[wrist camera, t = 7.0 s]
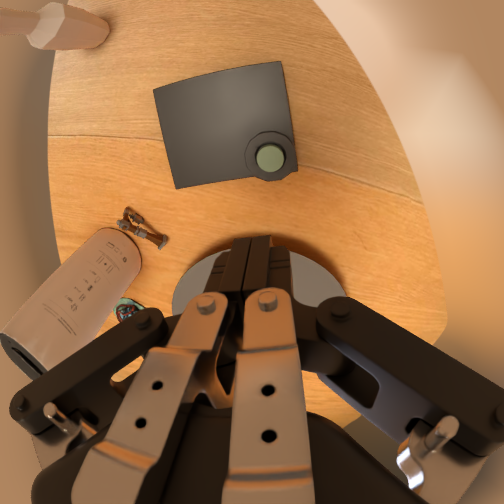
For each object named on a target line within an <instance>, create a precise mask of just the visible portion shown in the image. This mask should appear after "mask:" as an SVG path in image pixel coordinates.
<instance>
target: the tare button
mask: <svg viewBox="0 0 504 504" xmlns="http://www.w3.org/2000/svg"><path fill="white" fill-rule="evenodd" d="M283 162H284V156H283V152H282V150H281V149H280V148H279V147H278V146H276V145H274V144H267V145H264V146H263V147H262V148H261V149H260V150H259V152H258V154H257V163H258V165H259V167H260V168H261V169H262V170H264V171H267V172H274V171H277V170H278V169H280V168H281V166H282V165H283Z"/></svg>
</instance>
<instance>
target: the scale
mask: <svg viewBox="0 0 504 504" xmlns="http://www.w3.org/2000/svg"><path fill="white" fill-rule="evenodd" d="M153 93H154V98H155V103H156V108H157V112H158V117H159V121H160V126H161V130H162V135H163V139H164V143H165V148H166V152H167V156H168V160H169V164H170V168H171V172H172V176H173V180H174V184H175V188H176V189H181V188H186V187H192V186H197V185H203V184H209V183H215V182H221V181H227V180H234V179H240V178H247V177H254V176H255V177H257V178H260V179H262V180H265V181H277V180H282V179H283V178H284V177H286V176H287V175H289V174H290V173H291V172H296V171H298V167H297V158H296V151H295V144H294V137H293V130H292V123H291V117H290V110H289V104H288V98H287V92H286V86H285V81H284V75H283V70H282V64H281V61H276V62H268V63H261V64H254V65H248V66H242V67H237V68H232V69H227V70H222V71H217V72H213V73H209V74H205V75H200V76H197V77H193V78H189V79H185V80H182V81H178V82H175V83H172V84H169V85H165V86H162V87H159V88H156V89H153ZM267 144H274V145H276V146H278V147H279V148H280V149H281V150H282V152H283V156H284V162H283V165H282V166H281V168H280V169H278V170H277V171H274V172H267V171H264V170H262V169H261V168H260V167H259V165H258V163H257V154H258V152H259V150H260V149H261V148H262V147H263V146H264V145H267Z"/></svg>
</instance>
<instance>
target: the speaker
mask: <svg viewBox="0 0 504 504" xmlns="http://www.w3.org/2000/svg"><path fill="white" fill-rule="evenodd" d="M140 268H141V257H140V253H139V250H138V248H137V246H136V245H135V244H134V242H133V241H132V240H131V239H130V238H129V237H128V236H127V235H126V234H124V233H122V232H121V231H119V230H116V229H110V228H104V229H101V230H98V231H97V232H96V233H95V234H94V235H93V236H92V237H90V238H89V239H88V240H87V241H86V242H85V243H84V244H83V245H82V246H81V247H80V248H79V249H78V250H76V251H75V252H74V253H73V254H72V255H71V256H70V257H69V258H68V259H67V260H66V261H65V262H64V263H63V264H62V265H61V266H60V267H59V268H58V269H57V270H56V271H55V272H54V273H53V274H52V275H51V276H50V277H49V278H48V279H47V280H46V281H45V282H44V283H43V284H42V285H41V286H40V287H39V288H38V289H37V290H36V291H35V292H34V294H33V295H32V296H31V297H30V298H29V299H28V300H27V301H26V302H25V303H24V304H23V306H22V307H21V308H20V309H19V310H18V311H17V313H16V314H15V315H14V316H13V317H12V318H11V319H10V320H9V322H8V323H7V324H6V325H5V326H4V328H3V329H2V330H1V331H0V343H1V345H2V347H3V349H4V350H5V352H6V354H7V355H8V356H9V358H10V359H11V360H12V361H13V362H14V363H15V365H16V366H17V367H18V368H19V369H21V371H23V373H25V374H26V375H27V376H28V377H29V378H30V379H31V380H33V381H34V380H35V379H37V378H38V377H40V376H41V375H43V374H44V373H46V372H47V371H48V370H50V369H51V368H53V367H54V366H56V365H57V364H59V363H60V362H62V361H63V360H65V359H66V358H68V357H69V356H71V355H72V354H74V353H75V352H77V351H78V350H80V349H81V348H83V347H84V346H86V345H87V344H89V343H90V342H92V341H93V339H94V338H95V336H96V335H97V333H98V331H99V330H100V328H101V327H102V325H103V324H104V322H105V321H106V319H107V318H108V316H109V315H110V313H111V312H112V310H113V309H114V307H115V306H116V304H117V303H118V301H119V300H120V298H121V297H122V296H123V294H124V293H125V291H126V290H127V288H128V287H129V286H130V284H131V283H132V281H133V280H134V279H135V277H136V276H137V275H138V273H139V271H140Z"/></svg>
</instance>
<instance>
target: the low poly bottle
mask: <svg viewBox="0 0 504 504" xmlns="http://www.w3.org/2000/svg"><path fill="white" fill-rule="evenodd" d="M109 32H110V29H109V26H108V23H107V22H106V21H104V20H102V19H100V18H99V17H97V16H95V15H93V14H91V13H89V12H87V11H85V10H84V9H80V8H77V7H73V6H69V5H65V4H60V3H54V2H51V3H49V4H48V5H46V6H44V7H43V8H41V9H39V10H38V11H36V12H27V11H18V10H13V9H8V8H3V7H0V36H2V35H15V34H16V35H17V34H18V35H26V36H27V38H28V40H29V42H30V44H31V46H34V47H36V48H39V49H46V50H73V49H88V48H95V47H97V46H98V45H100V44H101V43H103V42H104V40H105V39H106V37H107V35H108V34H109Z"/></svg>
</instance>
